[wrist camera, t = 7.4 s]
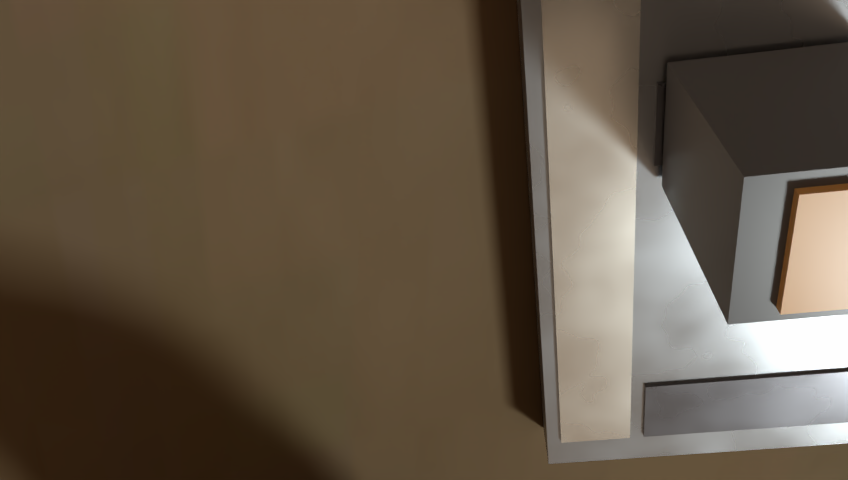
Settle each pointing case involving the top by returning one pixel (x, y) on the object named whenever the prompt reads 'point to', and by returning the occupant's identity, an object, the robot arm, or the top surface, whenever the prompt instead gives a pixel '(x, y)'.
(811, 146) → the breaker mid
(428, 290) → the top surface
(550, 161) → the panel
